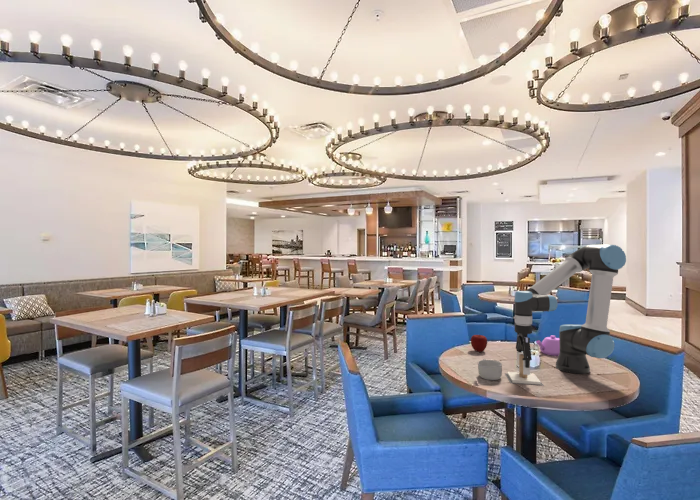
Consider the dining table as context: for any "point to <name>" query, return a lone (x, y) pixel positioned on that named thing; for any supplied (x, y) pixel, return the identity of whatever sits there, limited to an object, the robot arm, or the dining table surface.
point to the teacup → (490, 369)
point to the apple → (478, 342)
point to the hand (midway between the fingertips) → (523, 369)
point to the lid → (520, 377)
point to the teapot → (550, 345)
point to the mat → (520, 383)
